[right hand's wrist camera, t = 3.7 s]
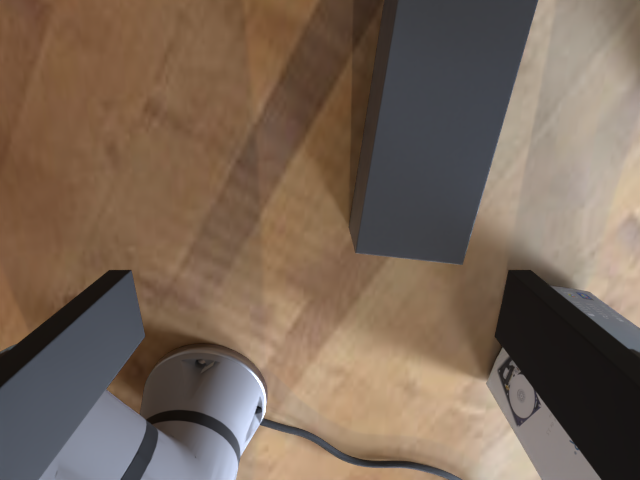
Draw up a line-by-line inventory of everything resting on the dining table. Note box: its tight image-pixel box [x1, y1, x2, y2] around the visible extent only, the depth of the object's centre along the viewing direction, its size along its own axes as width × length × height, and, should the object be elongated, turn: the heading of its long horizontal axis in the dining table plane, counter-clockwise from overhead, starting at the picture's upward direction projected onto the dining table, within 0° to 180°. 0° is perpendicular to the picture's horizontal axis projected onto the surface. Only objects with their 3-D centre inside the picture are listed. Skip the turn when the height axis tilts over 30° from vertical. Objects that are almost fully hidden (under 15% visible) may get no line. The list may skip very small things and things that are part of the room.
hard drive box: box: [486, 285, 640, 480], centre depth 35 cm, size 16×8×20 cm, turn 169°
